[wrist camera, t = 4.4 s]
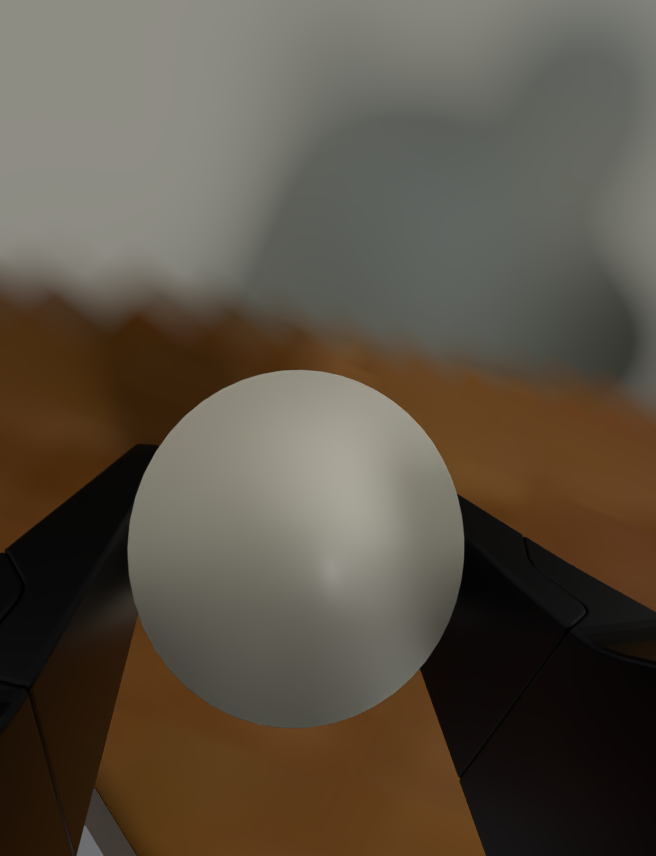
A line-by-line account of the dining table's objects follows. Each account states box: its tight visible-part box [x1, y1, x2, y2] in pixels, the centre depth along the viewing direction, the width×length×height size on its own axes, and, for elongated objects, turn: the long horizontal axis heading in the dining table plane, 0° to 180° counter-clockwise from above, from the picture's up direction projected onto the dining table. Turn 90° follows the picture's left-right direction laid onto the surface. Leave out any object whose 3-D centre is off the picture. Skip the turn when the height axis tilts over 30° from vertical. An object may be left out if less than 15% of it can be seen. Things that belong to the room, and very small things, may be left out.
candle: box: [127, 370, 464, 728], centre depth 10 cm, size 4×4×10 cm
